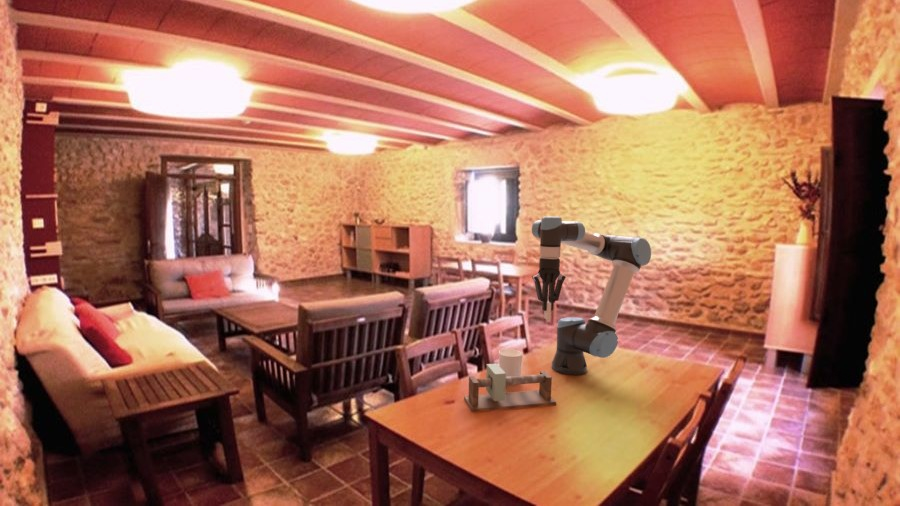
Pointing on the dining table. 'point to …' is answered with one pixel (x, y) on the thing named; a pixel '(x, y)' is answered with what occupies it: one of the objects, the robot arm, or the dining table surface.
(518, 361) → the candle holder
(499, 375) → the collar
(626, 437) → the dining table surface
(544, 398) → the dowel stand
